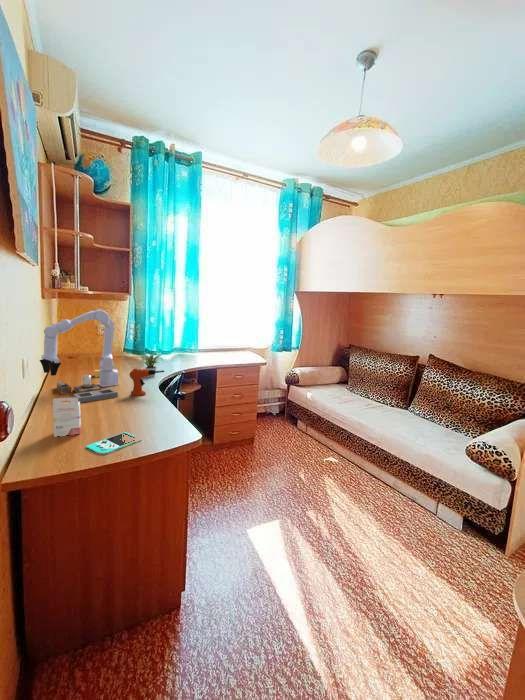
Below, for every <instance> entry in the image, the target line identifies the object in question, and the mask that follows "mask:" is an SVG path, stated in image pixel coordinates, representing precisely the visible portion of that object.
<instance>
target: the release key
mask: <svg viewBox="0 0 525 700" xmlns="http://www.w3.org/2000/svg"><path fill="white" fill-rule="evenodd" d="M64 383H65V382H62V381H59V380H58V381H57V382H56V385H57V384H59V385H61V386H62V387H66V385H65V384H64Z"/></svg>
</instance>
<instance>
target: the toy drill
mask: <svg viewBox="0 0 525 700" xmlns="http://www.w3.org/2000/svg"><path fill="white" fill-rule="evenodd" d="M164 372H165V370H156V371H155V370H147V369H145V368H143V369H141V368H139V369H138V368H133V369H132V370H131V371H130V372H129V374H128V375H129V378H130V379H132V381H133V389H132V390H131V391H130V395H131V396H132V395H133V396H134V397H136V396H137V397H144V396H145V395H146V394H147V393H146V391H145V390H143V386H144V385H145V384H146V383H145V382H144V380H143V379H144V378H148V377H147V376H149V375H154V374H155V375H156V374H157V373H158V374H159V373H164ZM143 395H144V396H143ZM133 396H132V397H133Z"/></svg>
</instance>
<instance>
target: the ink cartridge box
mask: <svg viewBox="0 0 525 700" xmlns="http://www.w3.org/2000/svg"><path fill="white" fill-rule="evenodd" d="M65 401H67V402H65ZM81 415H82V414H81V403H80V402H78V398H77V397H76V398H74V397H61V398H53V399H52V421H53V425H52V426H53V437H54V438H58V437H57V436H60V437H67V436H66V435H70V436H76V435H75V434H79V435H81V431H82V416H81Z"/></svg>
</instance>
